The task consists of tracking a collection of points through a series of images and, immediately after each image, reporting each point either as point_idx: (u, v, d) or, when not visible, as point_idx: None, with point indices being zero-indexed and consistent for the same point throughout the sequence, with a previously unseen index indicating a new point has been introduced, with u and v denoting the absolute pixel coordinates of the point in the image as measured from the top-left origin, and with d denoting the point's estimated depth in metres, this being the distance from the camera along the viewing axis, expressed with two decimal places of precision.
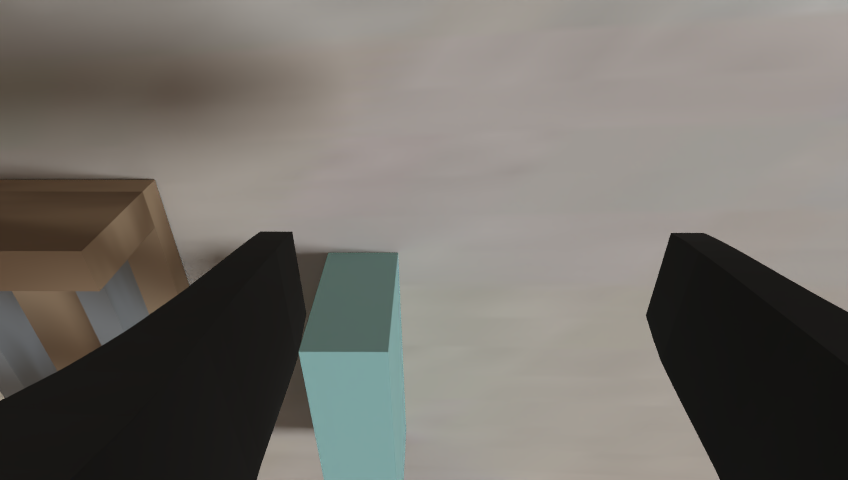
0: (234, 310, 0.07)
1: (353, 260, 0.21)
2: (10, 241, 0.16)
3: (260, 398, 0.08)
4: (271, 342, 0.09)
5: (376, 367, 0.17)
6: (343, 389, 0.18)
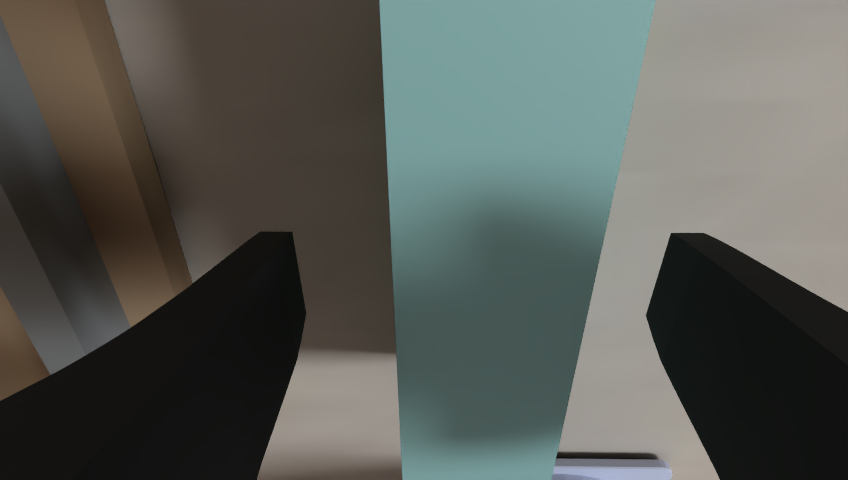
0: (234, 310, 0.07)
1: None
2: None
3: (260, 398, 0.08)
4: (271, 342, 0.09)
5: None
6: (494, 98, 0.06)
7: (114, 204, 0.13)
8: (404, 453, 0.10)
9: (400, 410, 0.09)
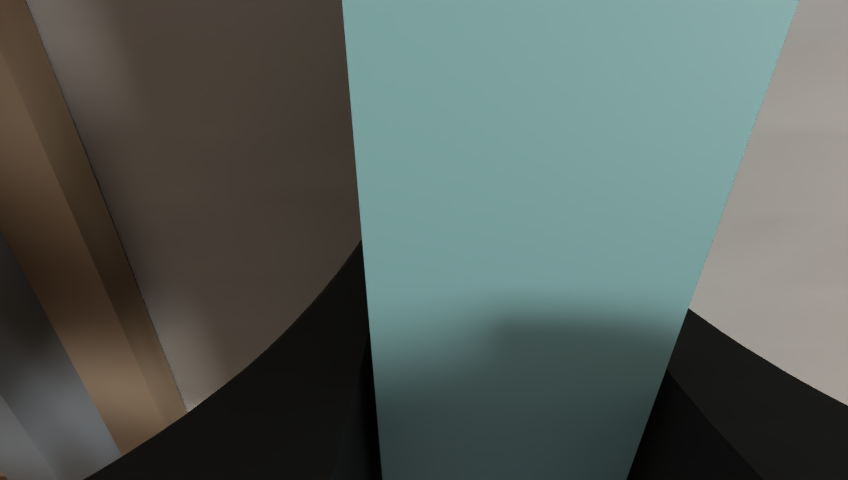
0: None
1: None
2: None
3: None
4: None
5: (722, 37, 0.03)
6: (523, 182, 0.04)
7: (54, 252, 0.11)
8: None
9: None
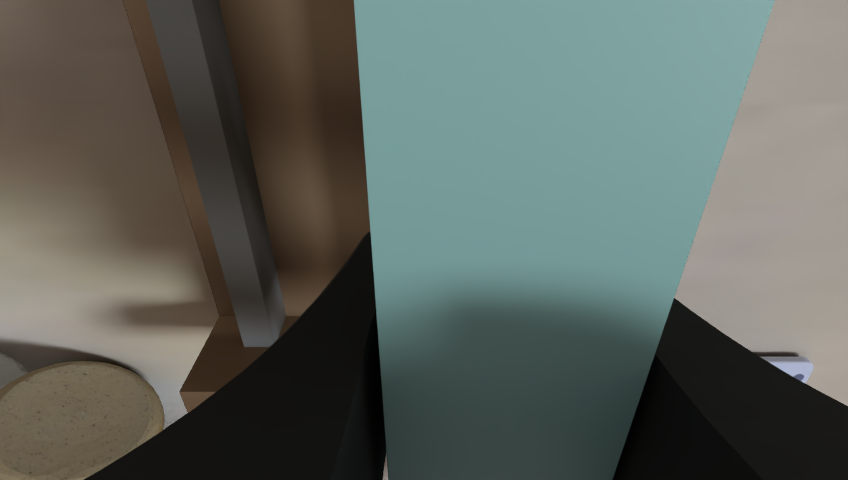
0: None
1: None
2: None
3: None
4: None
5: (699, 53, 0.04)
6: (519, 183, 0.04)
7: None
8: None
9: None
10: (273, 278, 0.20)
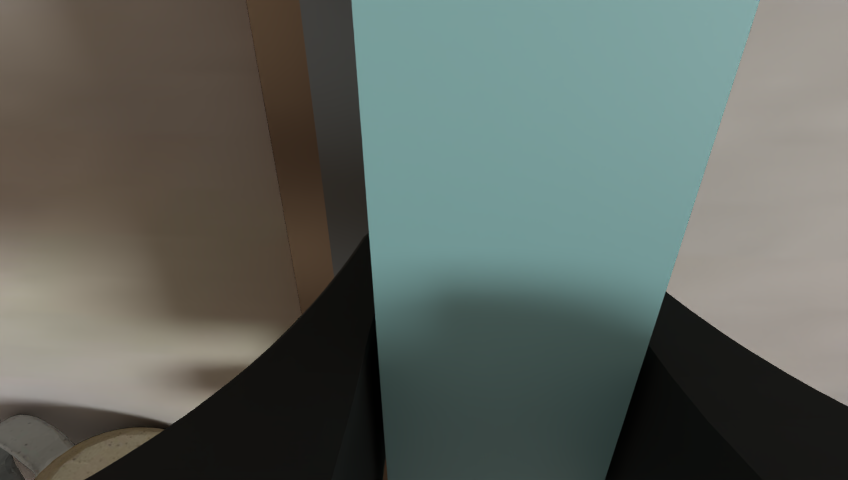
0: None
1: None
2: None
3: None
4: None
5: (683, 63, 0.04)
6: (512, 189, 0.05)
7: None
8: None
9: None
10: None
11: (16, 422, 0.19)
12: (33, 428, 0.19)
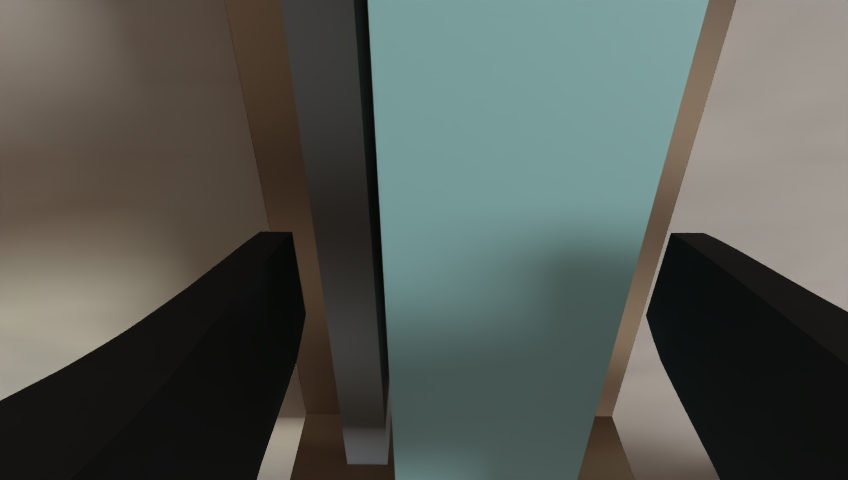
0: (234, 310, 0.07)
1: None
2: None
3: (260, 398, 0.08)
4: (271, 342, 0.09)
5: (651, 36, 0.05)
6: (505, 150, 0.05)
7: None
8: None
9: (396, 473, 0.08)
10: (387, 376, 0.15)
11: None
12: None
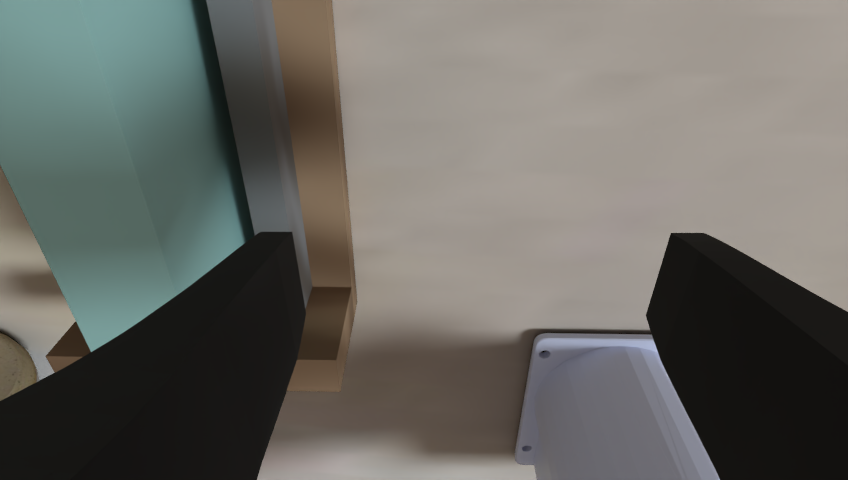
0: (234, 310, 0.07)
1: None
2: None
3: (260, 398, 0.08)
4: (271, 342, 0.09)
5: None
6: None
7: (311, 91, 0.16)
8: (59, 280, 0.13)
9: (37, 239, 0.12)
10: None
11: None
12: None
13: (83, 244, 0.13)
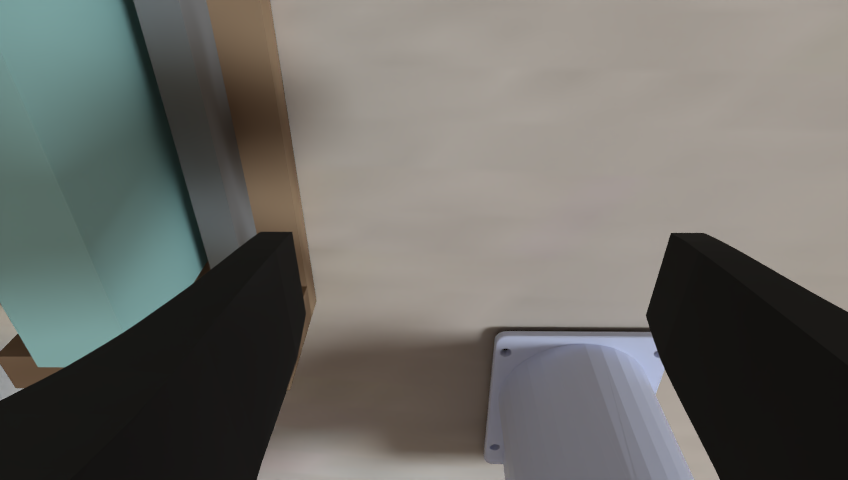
0: (234, 310, 0.07)
1: None
2: None
3: (260, 398, 0.08)
4: (271, 342, 0.09)
5: None
6: None
7: (252, 91, 0.17)
8: None
9: None
10: None
11: None
12: None
13: (9, 243, 0.13)
